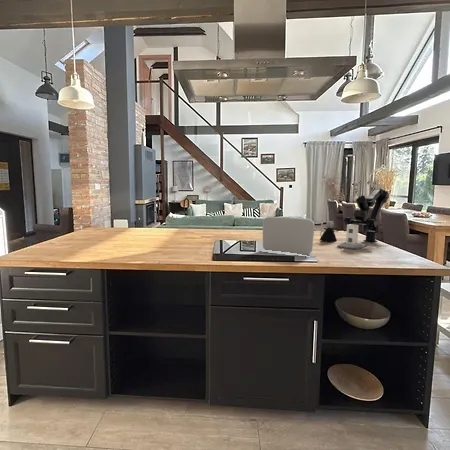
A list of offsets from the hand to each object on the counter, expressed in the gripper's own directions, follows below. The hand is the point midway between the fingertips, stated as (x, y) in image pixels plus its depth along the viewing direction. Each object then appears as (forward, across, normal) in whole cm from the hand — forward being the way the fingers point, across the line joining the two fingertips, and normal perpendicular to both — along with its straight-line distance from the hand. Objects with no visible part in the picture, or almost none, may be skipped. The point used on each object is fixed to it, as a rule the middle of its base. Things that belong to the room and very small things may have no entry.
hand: (355, 233), depth 200 cm
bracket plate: (+7, -1, +5) cm, 9 cm away
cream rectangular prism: (+9, 0, +1) cm, 9 cm away
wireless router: (+39, -19, -29) cm, 52 cm away
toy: (+3, -19, +9) cm, 21 cm away
